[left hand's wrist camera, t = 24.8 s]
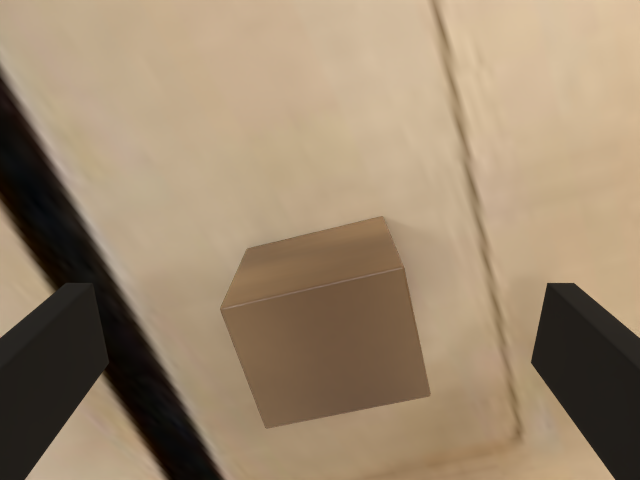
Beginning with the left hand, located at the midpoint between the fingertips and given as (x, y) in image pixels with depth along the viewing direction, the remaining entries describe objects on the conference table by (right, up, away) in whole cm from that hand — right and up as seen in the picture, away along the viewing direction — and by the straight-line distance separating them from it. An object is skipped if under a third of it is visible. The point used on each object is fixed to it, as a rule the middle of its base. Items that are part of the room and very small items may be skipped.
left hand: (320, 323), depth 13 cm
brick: (0, +1, +3) cm, 3 cm away
